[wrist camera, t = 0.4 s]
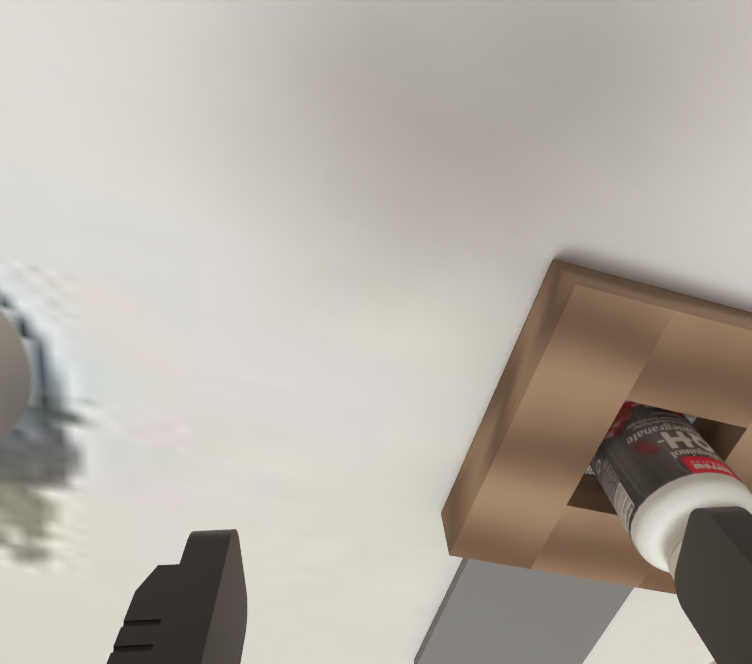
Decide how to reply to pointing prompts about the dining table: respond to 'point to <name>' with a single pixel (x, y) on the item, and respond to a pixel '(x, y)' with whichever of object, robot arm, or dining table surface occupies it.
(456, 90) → the dining table surface
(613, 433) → the pill bottle
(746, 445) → the walnut dock
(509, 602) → the charcoal mat
